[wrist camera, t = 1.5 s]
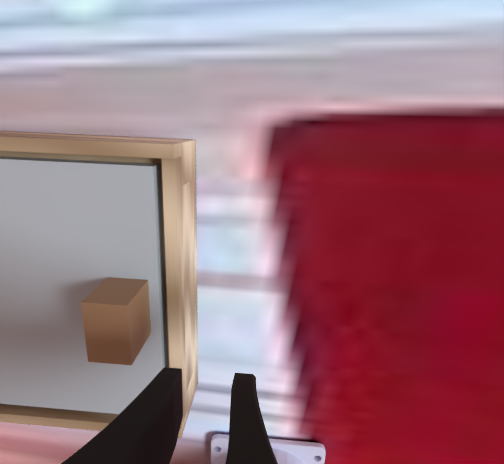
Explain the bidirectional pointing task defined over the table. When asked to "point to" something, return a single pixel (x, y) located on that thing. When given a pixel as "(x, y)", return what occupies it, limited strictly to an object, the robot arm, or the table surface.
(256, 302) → the table surface
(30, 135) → the birch box
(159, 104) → the table surface
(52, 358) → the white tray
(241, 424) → the robot arm
